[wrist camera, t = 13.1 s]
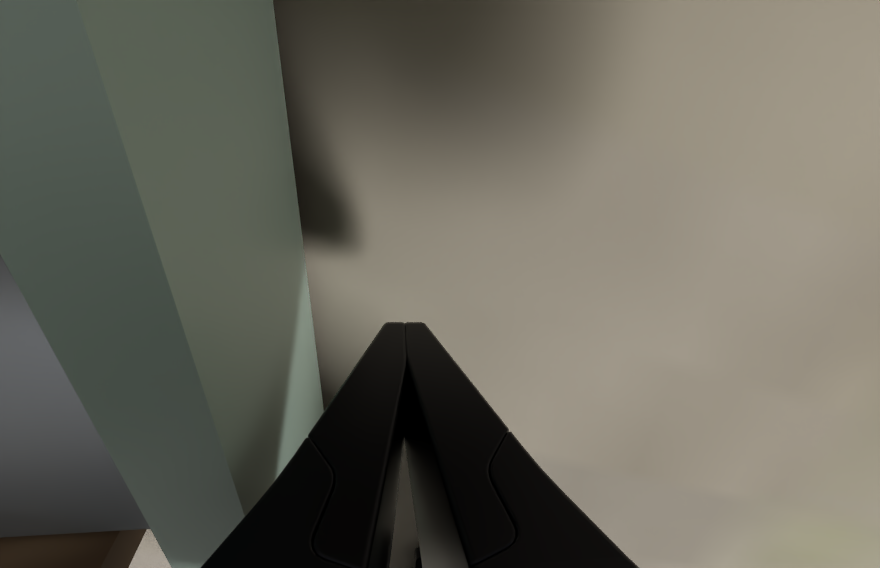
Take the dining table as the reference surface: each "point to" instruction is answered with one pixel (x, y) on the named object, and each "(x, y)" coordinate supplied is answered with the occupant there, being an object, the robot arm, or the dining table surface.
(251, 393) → the tray
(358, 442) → the robot arm
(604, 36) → the dining table surface
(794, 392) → the dining table surface
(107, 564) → the dock
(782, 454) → the dining table surface
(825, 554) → the dining table surface
